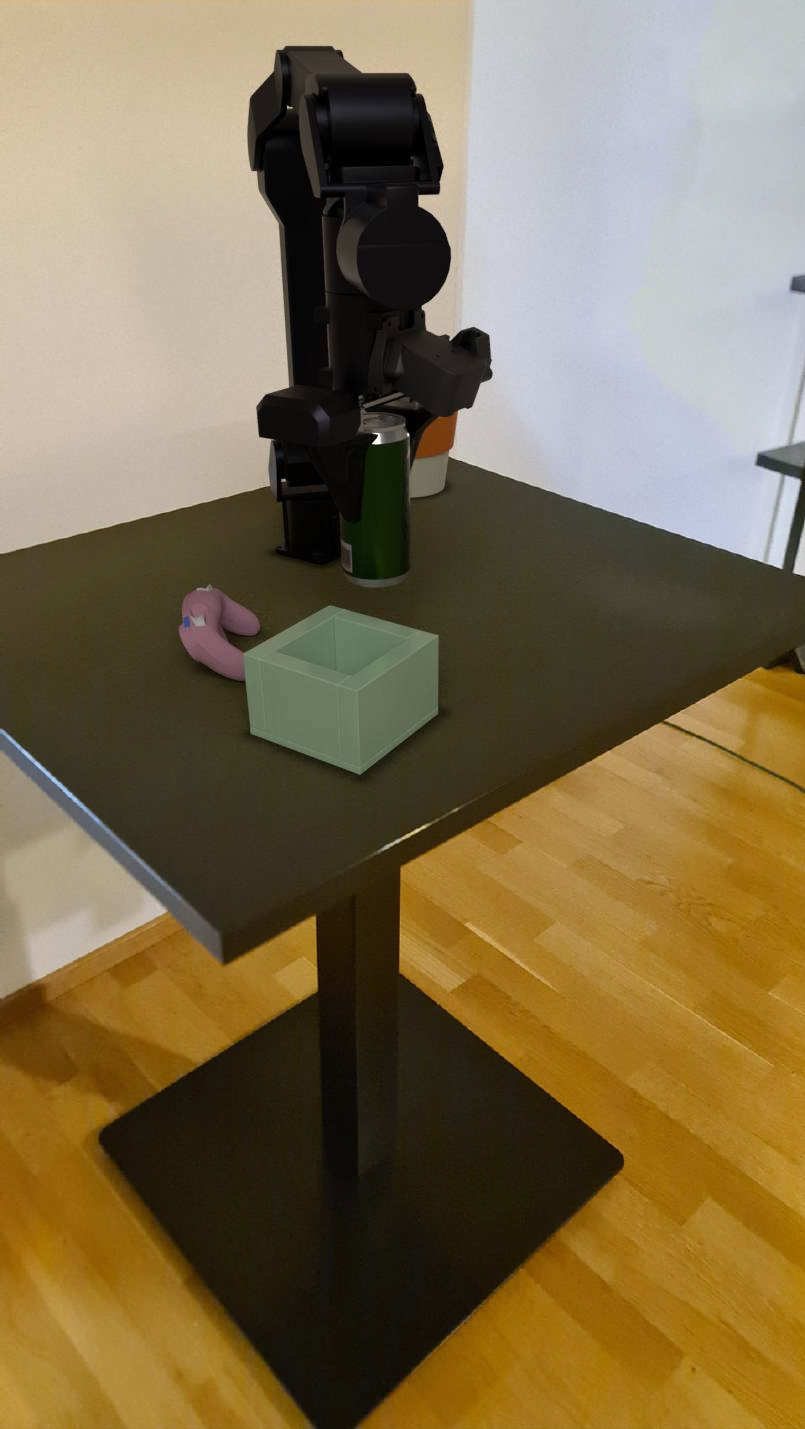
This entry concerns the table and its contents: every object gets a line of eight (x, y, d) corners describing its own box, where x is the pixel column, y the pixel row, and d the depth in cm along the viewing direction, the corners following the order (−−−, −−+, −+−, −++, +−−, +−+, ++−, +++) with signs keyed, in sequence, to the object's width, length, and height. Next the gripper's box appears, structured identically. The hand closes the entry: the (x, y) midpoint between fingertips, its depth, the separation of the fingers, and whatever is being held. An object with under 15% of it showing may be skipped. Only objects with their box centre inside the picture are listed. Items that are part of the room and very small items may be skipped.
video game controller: (220, 649, 90) (176, 585, 87) (265, 625, 90) (222, 560, 86) (212, 703, 82) (162, 635, 79) (261, 678, 81) (213, 608, 78)
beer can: (365, 594, 77) (360, 433, 71) (329, 572, 80) (321, 418, 75) (424, 578, 79) (424, 422, 73) (386, 558, 83) (383, 408, 77)
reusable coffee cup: (461, 472, 130) (463, 349, 123) (456, 503, 119) (458, 371, 112) (363, 470, 131) (360, 348, 124) (350, 501, 121) (345, 370, 113)
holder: (250, 733, 75) (242, 653, 72) (333, 679, 82) (329, 604, 79) (360, 775, 70) (357, 691, 67) (438, 713, 77) (439, 635, 74)
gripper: (387, 318, 59) (392, 572, 67) (536, 281, 72) (526, 496, 80) (241, 304, 64) (261, 540, 72) (405, 273, 78) (407, 475, 85)
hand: (373, 511), depth 77 cm, fingers closed on beer can, 5 cm apart
